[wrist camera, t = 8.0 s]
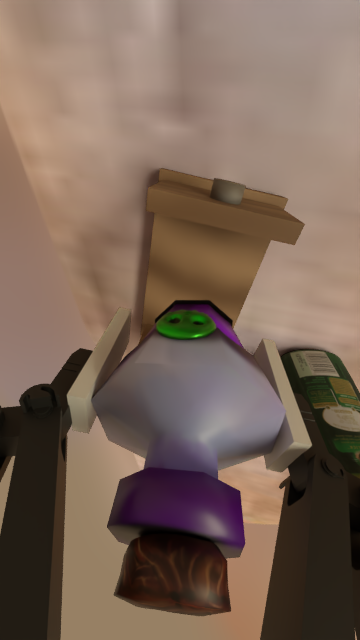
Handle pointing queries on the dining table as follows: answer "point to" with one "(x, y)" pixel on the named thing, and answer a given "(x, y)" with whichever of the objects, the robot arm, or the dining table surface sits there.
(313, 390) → the coffee jar
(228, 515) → the potion bottle
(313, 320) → the dining table surface
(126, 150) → the dining table surface
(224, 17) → the dining table surface
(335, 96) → the dining table surface
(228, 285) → the holder
